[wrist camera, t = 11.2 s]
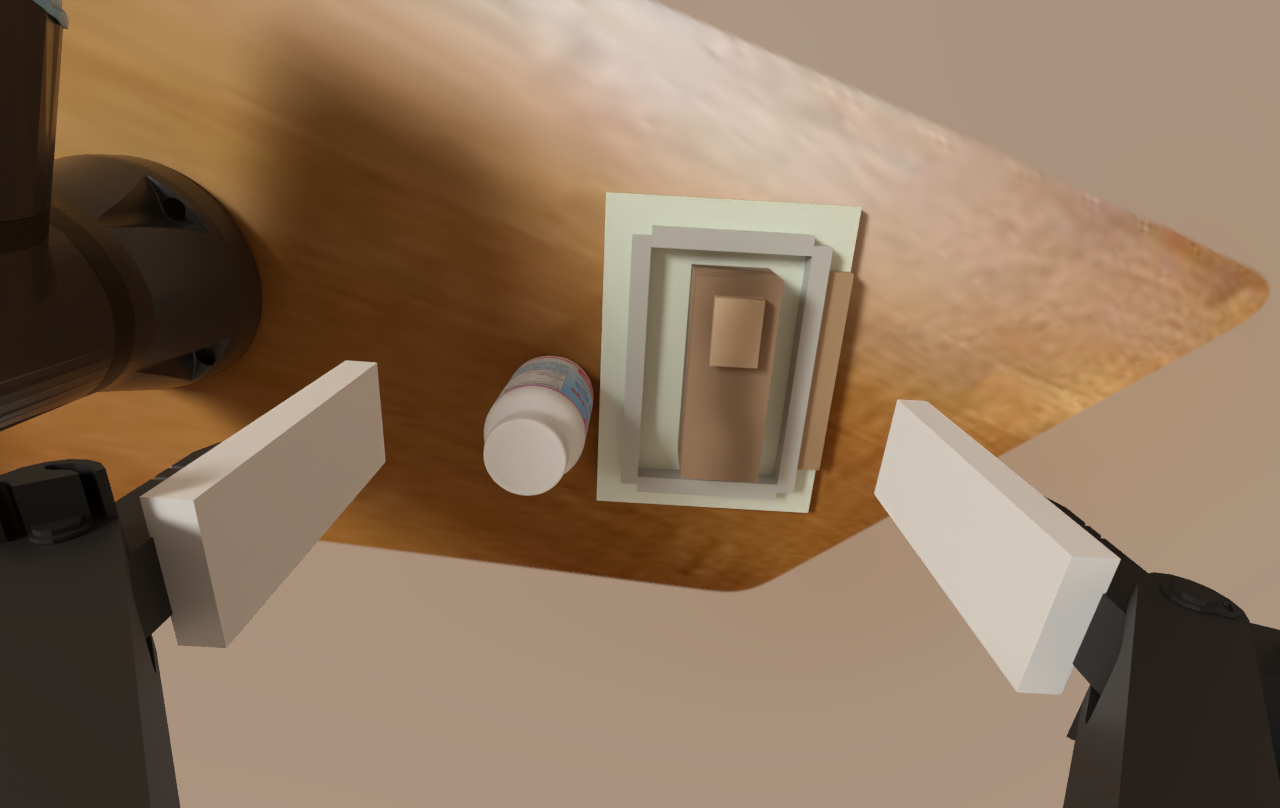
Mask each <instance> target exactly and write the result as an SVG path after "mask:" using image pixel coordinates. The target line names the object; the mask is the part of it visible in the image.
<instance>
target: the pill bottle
mask: <svg viewBox="0 0 1280 808" xmlns="http://www.w3.org/2000/svg"><path fill="white" fill-rule="evenodd" d="M593 400H594V393H593V388H592V384H591V382H590V379H589V378H588V376H587V374H586V373H585V372H584V370H583V369H582V368H581V367H580V366H578V365H577V364H576V363H574V362H573V361H571V360H569V359H566V358H563V357H558V356H541V357H537V358H533V359H531V360H529V361H527V362H525V363H524V364H523V365H521V366H520V367H519V368H518V369H517V370H516V372H515V373H514V374H513V376H512V377H511V379H510V380H509V382H508V383H507V385H506V386H505V388H504V389H503V391H502V392H501V394H500V395H499V397H498V398H497V400H496V401H495V403H494V404H493V406H492V407H491V409H490V411H489V413H488V415H487V417H486V421H485V425H484V441H485V446H484V452H483V456H484V463H485V467H486V469H487V471H488V473H489V475H490V476H491V478H492V479H493V480H494V481H495V482H496V483H497V484H498V485H499V486H500V487H502V488H503V489H505V490H507V491H509V492H511V493H514V494H518V495H525V496H530V495H538V494H541V493H544V492H546V491H548V490H550V489H551V488H553V487H554V486H555V485H556V484H557V483H558V482H559V481H560V479H561V478H562V476H563V475H564V474H565V473H567V472H568V471H569V470H570V469H571V468H572V467H573V466H574V465H575V464H576V462H577V461H578V459H579V458H580V456H581V453H582V451H583V448H584V444H585V440H586V435H587V431H588V426H589V421H590V416H591V412H592V407H593Z"/></svg>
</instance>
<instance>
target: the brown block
mask: <svg viewBox="0 0 1280 808" xmlns="http://www.w3.org/2000/svg"><path fill="white" fill-rule="evenodd" d="M783 284H784V280H782V279H781V278H780V277H779V276H778V275H776V274H775V273H774V272H773V271H772V270H770V269H769V268H759V267H740V266H721V265H701V264H691V277H690V290H689V303H688V316H687V329H686V342H685V355H684V368H683V381H682V394H681V407H680V420H679V433H678V458H679V470H680V478H683V479H702V480H721V481H739V482H757V481H758V473H759V465H760V458H761V450H762V443H763V435H764V428H765V420H766V412H767V405H768V397H769V390H770V382H771V375H772V367H773V359H774V352H775V344H776V337H777V329H778V322H779V314H780V306H781V299H782V291H783Z"/></svg>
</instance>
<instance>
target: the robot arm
mask: <svg viewBox="0 0 1280 808" xmlns="http://www.w3.org/2000/svg"><path fill="white" fill-rule="evenodd" d="M68 25H69V21H68V17H67V15H66V13H65V11H64V10H63V9H62V0H0V431H3V430H5V429H8V428H10V427H12V426H15V425H17V424H20V423H22V422H25V421H27V420H29V419H32V418H34V417H37V416H39V415H42V414H44V413H46V412H49V411H51V410H54V409H56V408H59V407H61V406H63V405H66V404H68V403H71V402H73V401H75V400H78V399H80V398H83V397H85V396H88V395H90V394H93V393H95V392H109V391H133V390H157V389H170V388H176V387H181V386H185V385H189V384H192V383H195V382H197V381H200V380H202V379H204V378H206V377H209V376H211V375H213V374H215V373H217V372H219V371H221V370H223V369H225V368H227V367H228V366H230V365H231V364H232V363H234V362H235V361H236V360H237V359H238V358H239V357H240V356H241V355H242V354H243V353H244V351H245V350H246V349H247V347H248V346H249V344H250V342H251V341H252V339H253V336H254V334H255V332H256V329H257V326H258V322H259V317H260V311H261V289H260V281H259V277H258V272H257V268H256V265H255V262H254V259H253V256H252V254H251V252H250V249H249V247H248V245H247V243H246V241H245V239H244V237H243V236H242V234H241V232H240V231H239V229H238V228H237V226H236V225H235V223H234V222H233V220H232V219H231V218H230V216H229V215H228V214H227V213H226V212H225V210H224V209H223V208H222V207H221V206H220V205H219V204H218V203H217V202H216V201H215V200H214V199H213V198H212V197H211V196H210V195H209V194H208V193H207V192H205V191H204V190H203V189H202V188H201V187H199V186H198V185H197V184H195V183H194V182H192V181H191V180H189V179H188V178H186V177H185V176H183V175H181V174H180V173H178V172H176V171H174V170H172V169H170V168H168V167H166V166H163V165H161V164H158V163H156V162H153V161H150V160H146V159H142V158H138V157H132V156H124V155H98V154H84V155H75V156H68V157H63V158H59V159H55V160H54V151H55V136H56V122H57V107H58V93H59V78H60V64H61V49H62V35H63V29H68ZM385 462H386V459H385V448H384V436H383V425H382V414H381V402H380V391H379V380H378V368H377V363H376V362H362V361H348V360H346V361H344V362H343V363H341V364H340V365H338V366H336V367H335V368H333V369H332V370H330V371H329V372H327V373H326V374H324V375H323V376H321V377H320V378H318V379H317V380H315V381H314V382H312V383H311V384H309V385H308V386H306V387H305V388H303V389H302V390H300V391H299V392H297V393H296V394H294V395H293V396H291V397H290V398H288V399H287V400H285V401H284V402H282V403H281V404H279V405H278V406H276V407H275V408H273V409H272V410H270V411H269V412H267V413H266V414H264V415H262V416H261V417H259V418H258V419H256V420H255V421H253V422H252V423H250V424H249V425H247V426H246V427H244V428H243V429H241V430H240V431H238V432H237V433H235V434H234V435H232V436H231V437H229V438H228V439H226V440H225V441H223V442H219V443H216V444H214V445H211V446H208V447H206V448H203V449H200V450H198V451H195V452H193V453H191V454H189V455H188V456H186V457H185V458H183V459H182V460H180V461H179V462H177V463H175V464H174V465H172V468H168V469H166V470H165V471H163V472H161V473H160V474H158V475H157V476H155V480H154V479H151V480H149V481H147V482H146V483H144V484H143V485H141V486H140V487H138V488H136V489H135V490H133V491H132V492H130V493H129V494H127V495H126V496H124V497H122V498H121V499H119V500H118V501H116V502H115V501H114V498H113V494H112V490H111V487H110V483H109V480H108V476H107V473H106V469H105V468H104V466H103V465H102V464H101V463H99V462H95V461H91V460H79V459H67V460H59V461H51V462H44V463H40V464H35V465H31V466H27V467H23V468H19V469H17V470H14V471H11V472H8V473H5V474H3V475H0V808H180V803H179V796H178V790H177V783H176V777H175V770H174V763H173V757H172V750H171V744H170V737H169V731H168V724H167V718H166V711H165V704H164V698H163V691H162V685H161V678H160V671H159V665H158V659H157V652H156V648H155V644H154V641H153V637H152V633H153V632H154V631H155V630H156V629H157V628H158V627H159V626H160V625H161V624H162V623H163V622H165V621H166V620H167V619H168V618H169V617H170V616H171V619H172V623H173V627H174V631H175V635H176V638H177V642H178V645H184V646H201V647H219V648H226V647H228V645H229V644H230V643H231V642H232V641H233V640H234V638H235V637H236V636H237V635H238V633H240V631H241V630H242V629H243V628H244V627H245V626H246V624H247V623H248V622H249V621H250V620H251V619H252V617H253V616H254V615H255V614H256V613H257V611H258V610H259V609H260V608H261V607H262V606H263V605H264V603H265V602H266V601H267V600H268V599H269V597H270V596H271V595H272V594H273V593H274V592H275V590H276V589H277V588H278V587H279V586H280V585H281V583H282V582H283V581H284V580H285V579H286V578H287V576H288V575H289V574H290V573H291V572H292V571H293V569H294V568H295V567H296V566H297V565H298V564H299V562H300V561H301V560H302V559H303V558H304V557H305V555H306V554H307V553H308V552H309V551H310V550H311V548H312V547H313V546H314V545H315V544H316V543H317V541H318V540H319V539H320V538H321V537H322V536H323V534H324V533H325V532H326V531H327V530H328V529H329V527H330V526H331V525H332V524H333V523H334V522H335V520H336V519H337V518H338V517H339V516H340V515H341V513H342V512H343V511H344V510H345V509H346V508H347V506H348V505H349V504H350V503H351V502H352V501H353V499H354V498H355V497H356V496H357V495H358V494H359V492H360V491H361V490H362V489H363V488H364V487H365V485H366V484H367V483H368V482H369V481H370V480H371V478H372V477H373V476H374V475H375V474H376V473H377V471H378V470H379V469H380V468H381V467H382V466H383V464H384V463H385ZM874 494H875V496H876V497H877V499H878V500H879V501H880V503H881V504H882V506H883V507H884V508H885V510H886V511H887V513H888V514H889V515H890V517H891V518H892V519H893V521H894V522H895V523H896V525H897V526H898V528H899V529H900V531H901V532H902V533H903V535H904V536H905V538H906V539H907V540H908V542H909V543H910V544H911V546H912V547H913V549H914V550H915V551H916V553H917V554H918V556H919V557H920V558H921V560H922V561H923V562H924V564H925V565H926V567H927V568H928V569H929V571H930V572H931V574H932V575H933V576H934V578H935V579H936V581H937V582H938V583H939V585H940V586H941V587H942V589H943V590H944V592H945V593H946V595H947V596H948V597H949V599H950V600H951V601H952V603H953V604H954V605H955V607H956V608H957V610H958V611H959V613H960V614H961V615H962V617H963V618H964V620H965V621H966V622H967V624H968V625H969V626H970V628H971V629H972V631H973V632H974V633H975V635H976V636H977V637H978V639H979V640H980V642H981V643H982V644H983V646H984V647H985V649H986V650H987V652H988V653H989V654H990V656H991V657H992V658H993V660H994V661H995V663H996V664H997V665H998V667H999V668H1000V669H1001V671H1002V672H1003V674H1004V675H1005V677H1006V678H1007V679H1008V681H1009V682H1010V683H1011V685H1012V686H1013V688H1014V689H1015V690H1016V692H1018V693H1035V694H1053V695H1061V694H1062V692H1063V690H1064V688H1065V685H1066V683H1067V681H1068V678H1069V676H1070V674H1071V672H1072V669H1073V667H1074V666H1075V667H1076V668H1077V670H1078V671H1079V672H1080V673H1081V674H1082V675H1083V676H1084V678H1085V679H1086V680H1087V681H1088V682H1089V683H1090V686H1089V689H1088V691H1087V693H1086V695H1085V697H1084V700H1083V702H1082V704H1081V706H1080V708H1079V710H1078V713H1077V715H1076V717H1075V719H1074V721H1073V723H1072V726H1071V728H1070V730H1069V732H1068V734H1067V737H1069V738H1070V739H1072V740H1075V744H1074V750H1073V756H1072V761H1071V767H1070V772H1069V778H1068V783H1067V789H1066V795H1065V800H1064V805H1063V808H1280V630H1278V629H1273V628H1269V627H1265V626H1261V625H1257V624H1253V623H1250V622H1249V619H1248V618H1247V616H1246V614H1245V613H1244V611H1243V610H1242V609H1241V608H1239V607H1238V606H1237V605H1236V604H1234V603H1233V602H1232V601H1231V600H1229V599H1228V598H1226V597H1224V596H1223V595H1221V594H1219V593H1217V592H1216V591H1214V590H1212V589H1210V588H1208V587H1205V586H1203V585H1201V584H1198V583H1196V582H1194V581H1191V580H1188V579H1184V578H1181V577H1178V576H1174V575H1170V574H1163V573H1155V572H1154V573H1147V572H1146V571H1145V570H1143V569H1142V568H1141V567H1140V566H1138V565H1137V564H1136V563H1135V562H1133V561H1132V560H1131V559H1130V558H1128V557H1127V556H1126V555H1125V554H1123V553H1122V552H1121V551H1120V550H1118V549H1117V548H1116V547H1115V546H1113V545H1112V544H1111V543H1110V542H1108V541H1107V540H1106V539H1102V538H1101V535H1100V534H1098V533H1097V532H1096V531H1095V530H1093V529H1092V528H1091V527H1090V526H1085V522H1083V521H1082V520H1081V519H1080V518H1078V517H1077V516H1076V515H1074V514H1073V513H1072V512H1071V511H1070V510H1068V509H1067V508H1065V507H1064V506H1061V505H1060V504H1058V503H1056V502H1054V501H1052V500H1050V499H1048V498H1046V497H1045V496H1043V495H1042V494H1040V493H1039V492H1038V491H1037V490H1035V489H1034V488H1033V487H1031V486H1030V485H1029V484H1028V483H1027V482H1025V481H1024V480H1023V479H1022V478H1021V477H1019V476H1018V475H1017V474H1016V473H1014V472H1013V471H1012V470H1011V469H1010V468H1008V467H1007V466H1006V465H1005V464H1003V463H1002V462H1001V461H1000V460H999V459H997V458H996V457H995V456H994V455H992V454H991V453H990V452H989V451H987V450H986V449H985V448H984V447H983V446H981V445H980V444H979V443H978V442H976V441H975V440H974V439H973V438H971V437H970V436H969V435H968V434H967V433H965V432H964V431H963V430H962V429H960V428H959V427H958V426H957V425H955V424H954V423H953V422H952V421H951V420H949V419H948V418H947V417H946V416H944V415H943V414H942V413H941V412H940V411H938V410H937V409H936V408H935V407H933V406H932V405H931V404H930V403H928V402H927V401H914V400H899V399H898V400H897V404H896V408H895V412H894V416H893V420H892V424H891V428H890V432H889V436H888V440H887V444H886V448H885V452H884V456H883V460H882V464H881V468H880V472H879V476H878V480H877V484H876V488H875V492H874Z"/></svg>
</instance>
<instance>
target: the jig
mask: <svg viewBox="0 0 1280 808" xmlns="http://www.w3.org/2000/svg"><path fill="white" fill-rule="evenodd" d="M861 209H862V207H858V206H843V205H826V204H808V203H791V202H773V201H756V200H738V199H721V198H703V197H685V196H668V195H650V194H633V193H615V192H606V213H605V245H604V277H603V309H602V341H601V373H600V405H599V437H598V469H597V501H613V502H630V503H647V504H664V505H681V506H699V507H716V508H733V509H750V510H767V511H784V512H801V513H808V511H809V505H810V499H811V494H812V488H813V482H814V477H815V471H816V470H819V469H820V463H821V458H822V452H823V447H824V441H825V435H826V430H827V424H828V419H829V413H830V407H831V402H832V396H833V391H834V385H835V379H836V374H837V368H838V363H839V357H840V351H841V346H842V340H843V335H844V329H845V323H846V318H847V312H848V307H849V301H850V295H851V290H852V284H853V278H854V273H852V272H851V266H852V261H853V255H854V249H855V244H856V238H857V232H858V227H859V221H860V215H861ZM691 264H701V265H721V266H740V267H759V268H769V269H770V270H772V271H773V272H774V273H775V274H776V275H778V276H779V277H780V278H781V279H782V280H784V284H783V291H782V299H781V306H780V314H779V322H778V329H777V337H776V344H775V352H774V359H773V367H772V375H771V382H770V390H769V397H768V405H767V412H766V420H765V428H764V435H763V443H762V450H761V458H760V465H759V473H758V481H757V482H739V481H721V480H702V479H683V478H680V470H679V458H678V433H679V420H680V407H681V394H682V381H683V368H684V355H685V342H686V329H687V316H688V303H689V290H690V277H691Z"/></svg>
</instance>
